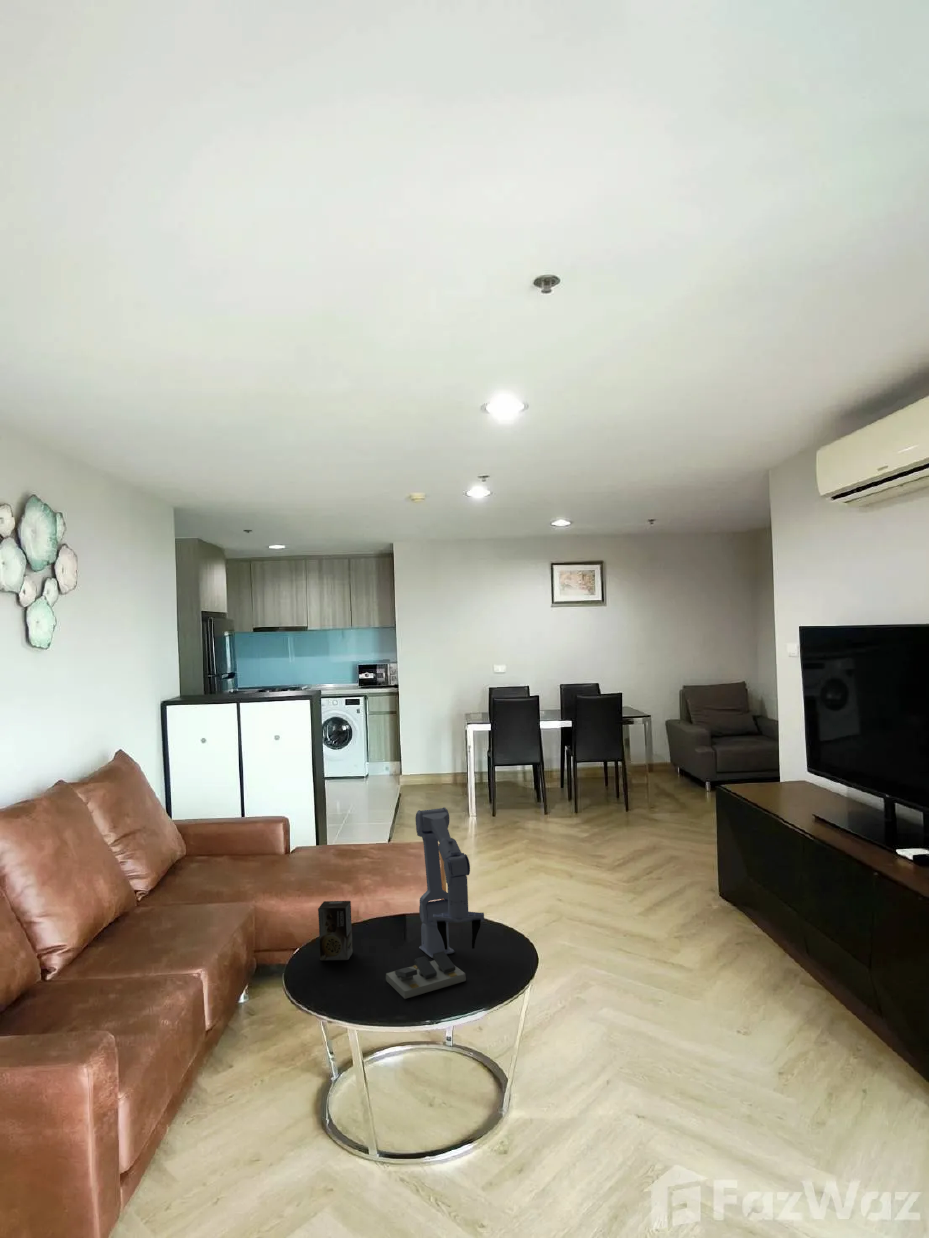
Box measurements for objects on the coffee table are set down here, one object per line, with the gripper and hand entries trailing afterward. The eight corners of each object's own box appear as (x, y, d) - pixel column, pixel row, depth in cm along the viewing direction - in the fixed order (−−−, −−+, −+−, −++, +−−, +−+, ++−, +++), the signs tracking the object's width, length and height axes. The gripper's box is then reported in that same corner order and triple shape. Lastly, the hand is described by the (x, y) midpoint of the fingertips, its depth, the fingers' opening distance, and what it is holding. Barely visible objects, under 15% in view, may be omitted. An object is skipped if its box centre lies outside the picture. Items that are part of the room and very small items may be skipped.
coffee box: (353, 951, 224) (351, 900, 225) (347, 960, 218) (346, 907, 219) (325, 951, 225) (323, 900, 226) (319, 960, 219) (317, 907, 220)
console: (386, 980, 203) (385, 970, 204) (444, 964, 213) (444, 954, 213) (404, 998, 192) (404, 987, 192) (465, 980, 201) (465, 970, 201)
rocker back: (432, 957, 208) (433, 953, 208) (443, 954, 210) (443, 951, 209) (444, 973, 201) (444, 969, 201) (455, 970, 203) (455, 966, 203)
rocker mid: (414, 962, 205) (414, 958, 205) (425, 959, 207) (425, 955, 206) (425, 978, 199) (425, 975, 198) (436, 975, 200) (436, 971, 200)
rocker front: (395, 974, 202) (395, 970, 202) (406, 971, 203) (406, 967, 204) (405, 977, 196) (405, 972, 196) (417, 974, 197) (416, 969, 198)
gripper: (431, 904, 197) (433, 954, 197) (483, 903, 197) (485, 952, 197) (433, 896, 204) (434, 944, 204) (483, 894, 204) (484, 942, 204)
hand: (459, 947), depth 201 cm, fingers open, 7 cm apart
